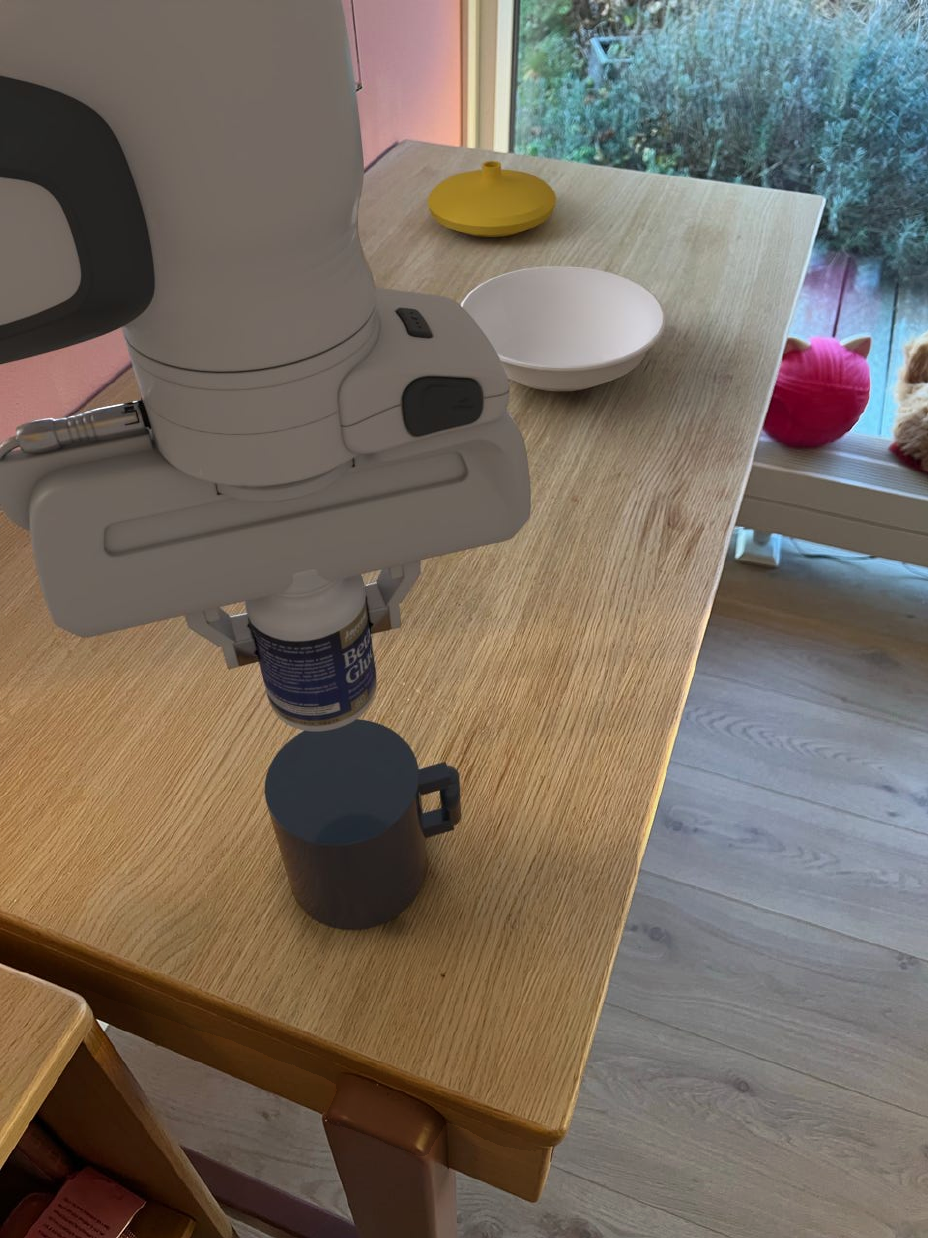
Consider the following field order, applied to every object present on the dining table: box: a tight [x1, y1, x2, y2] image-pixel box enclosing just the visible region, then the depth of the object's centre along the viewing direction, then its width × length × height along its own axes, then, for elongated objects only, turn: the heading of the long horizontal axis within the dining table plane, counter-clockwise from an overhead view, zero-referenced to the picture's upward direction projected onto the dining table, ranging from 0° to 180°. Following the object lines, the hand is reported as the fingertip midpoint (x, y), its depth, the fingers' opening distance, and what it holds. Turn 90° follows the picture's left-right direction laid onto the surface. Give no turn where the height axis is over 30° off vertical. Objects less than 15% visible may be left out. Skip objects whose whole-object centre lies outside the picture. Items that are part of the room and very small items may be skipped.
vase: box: [427, 160, 557, 238], centre depth 122 cm, size 16×16×7 cm
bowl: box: [459, 265, 667, 392], centre depth 97 cm, size 20×20×6 cm
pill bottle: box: [244, 569, 378, 732], centre depth 46 cm, size 5×5×10 cm
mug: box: [264, 718, 462, 931], centre depth 58 cm, size 11×8×9 cm
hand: (314, 638), depth 47 cm, fingers closed on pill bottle, 5 cm apart
